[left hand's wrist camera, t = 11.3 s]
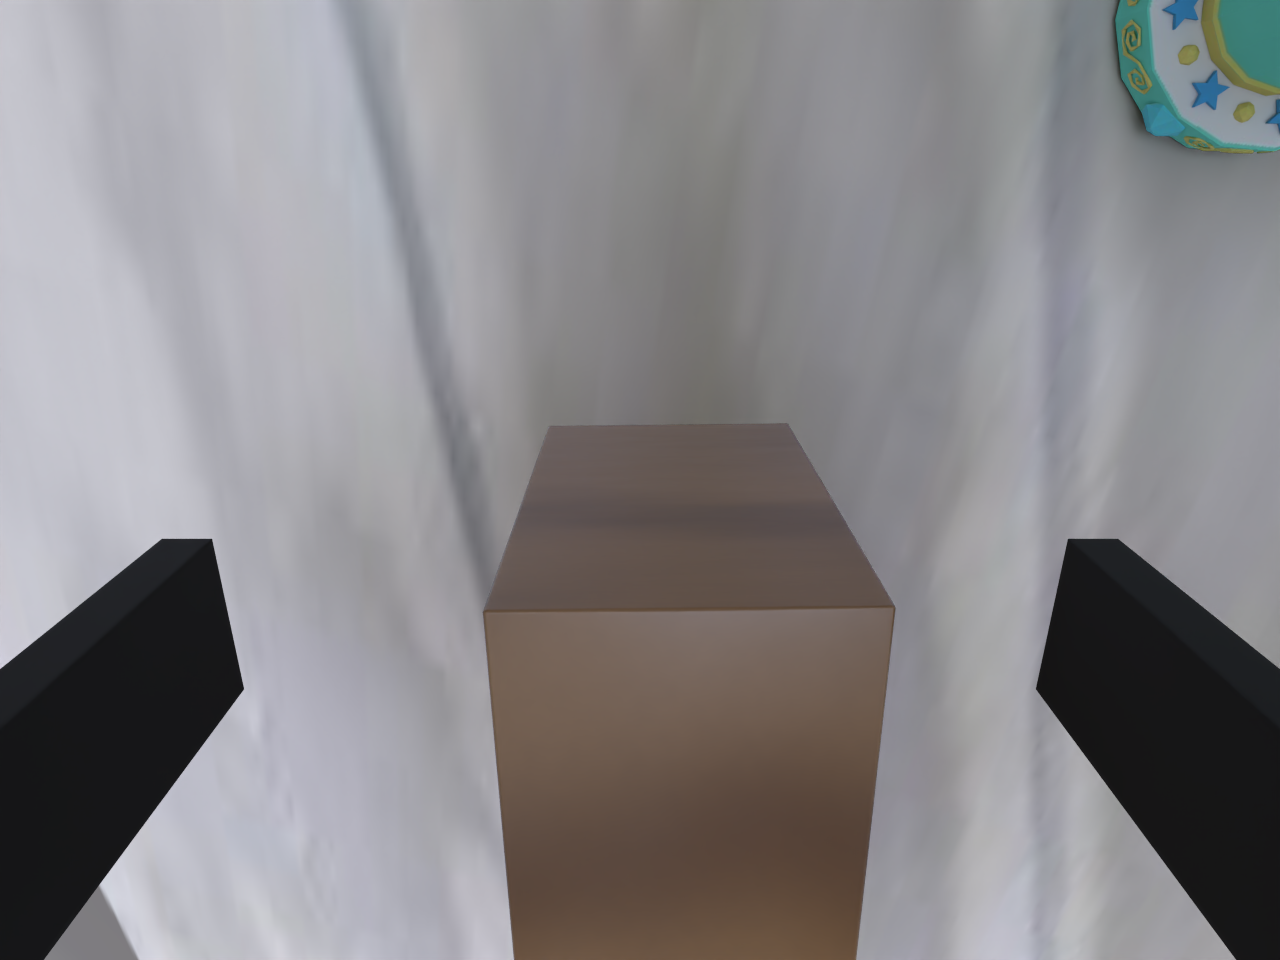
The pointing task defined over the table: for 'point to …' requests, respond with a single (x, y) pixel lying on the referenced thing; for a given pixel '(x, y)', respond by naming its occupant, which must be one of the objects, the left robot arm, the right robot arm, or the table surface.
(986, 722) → the table surface
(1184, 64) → the decorative hourglass
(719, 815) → the box
